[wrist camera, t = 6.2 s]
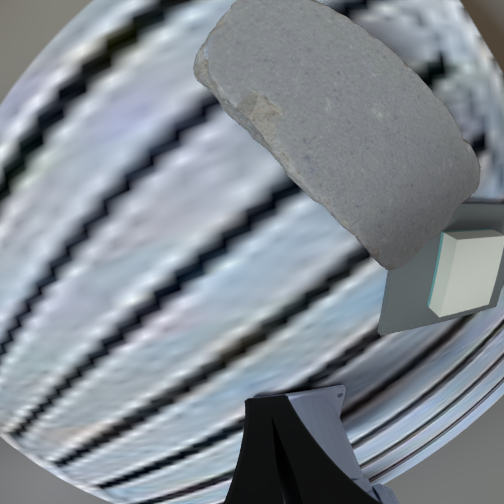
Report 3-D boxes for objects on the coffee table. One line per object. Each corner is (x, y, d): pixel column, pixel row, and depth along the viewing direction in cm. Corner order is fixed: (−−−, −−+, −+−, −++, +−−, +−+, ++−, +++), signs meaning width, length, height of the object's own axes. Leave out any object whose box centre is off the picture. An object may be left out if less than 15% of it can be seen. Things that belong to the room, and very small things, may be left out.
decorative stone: (392, 242, 20) (441, 111, 16) (450, 291, 14) (515, 118, 10) (175, 173, 17) (230, 14, 14) (147, 204, 11) (234, -42, 7)
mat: (492, 303, 23) (495, 306, 23) (377, 331, 22) (380, 335, 22) (514, 203, 20) (519, 205, 19) (395, 201, 18) (400, 203, 18)
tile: (427, 305, 21) (476, 294, 22) (439, 317, 20) (488, 304, 20) (441, 231, 19) (491, 228, 20) (457, 239, 17) (505, 235, 18)
